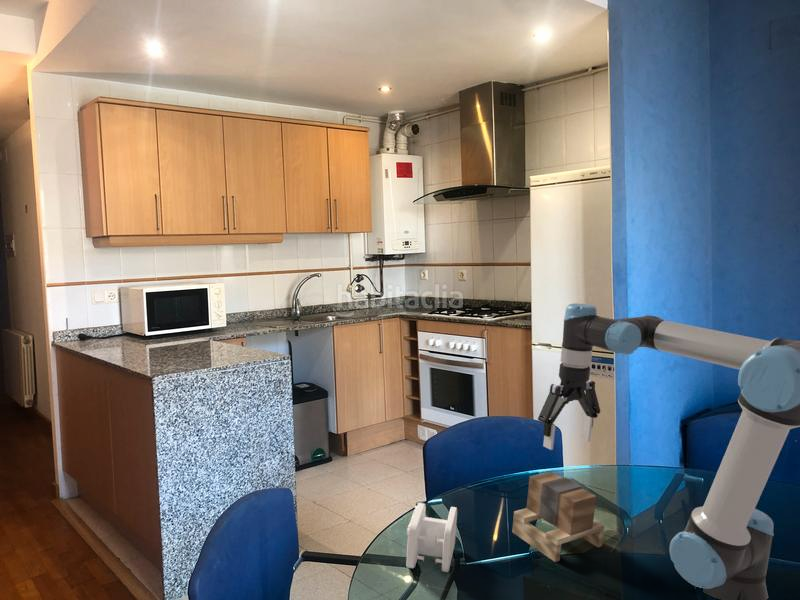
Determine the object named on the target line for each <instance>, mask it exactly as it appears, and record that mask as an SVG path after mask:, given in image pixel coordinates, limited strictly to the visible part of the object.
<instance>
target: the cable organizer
mask: <svg viewBox="0 0 800 600" xmlns="http://www.w3.org/2000/svg"><path fill="white" fill-rule="evenodd" d="M426 507H427V506H426V503H422V502H417V505H415V506H414V510H413V512H412V514H411V518H410V520H409V524H407V528H406V536H407V542H406V544H407V546H406V561H405V562H406V563H405V565H406V568H408V569H414V568H416V564H417V562H418V560H421V561H422V563H424V561H425V556H430V557H435V563H436V564H437V563H438V564H441V571H442V572H444V573H448V572H450V567H451V563H452V558H453V553H454V550H455V544H456V534H457V532H456V531H457V518H458V508H457V507H455V506H450V509H449V512H448V516H447V517H448V518H447V519H443V518H441V519H440V518H434V517H427V516H426V509H427V508H426ZM422 555H423V556H422ZM440 558H442V559H440Z"/></svg>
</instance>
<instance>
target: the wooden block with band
mask: <svg viewBox="0 0 800 600" xmlns="http://www.w3.org/2000/svg"><path fill="white" fill-rule="evenodd" d="M526 499H527V500H526V508H527V509H529V510H530V511H532V512H534V513H535V514H537V515H538V516H539V517H541V519H542V520H544V521H545V522H547V523H549V524H550V525H552V526H554V527H555V528H556V529H558V528H559V529H561V530H562V531H564V532H565V533H567V534H569V535H570V536H571V535H574V534H577V533H581V532H584V531H587V530H590V529H593V520H594V519H595V518H594V517H595V510H596V501H597V495H595V494H594V493H591V492H590V491H588V490H586V489H584V488H583V486H582V485H580V484H578V483H577V482H574V481H573V480H571V479H569V478H567V477H565V476H564V477H562V476H560V475H558V474H556V473H554V472H553V471H549V472H545V473H539V474H536V475H531V476H529V479H528V491H527V498H526Z"/></svg>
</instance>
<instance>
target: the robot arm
mask: <svg viewBox="0 0 800 600" xmlns="http://www.w3.org/2000/svg"><path fill="white" fill-rule="evenodd" d="M593 347H596V348H599V349H602V350H606V351H609V352H613V353H614V354H622V355H632V354H633V353H634V352H635V351H637V350H638V349H639V348H646V349H652V350H656V351H660V352H666V353H669V354H673V355H677V356H681V357H685V358H688V359H689V358H690V359H693V360H696V361H697V360H698V361H702V362H706V363H710V364H715V365H718V366H722V367H726V368H731V369H735V370H739V371H738V377H737V383H738V387H739V389H740V393H739V396H738V399H737V402H738V404H739V406H740V408H741V409H742V411H741V414H740V417H739V418H738V421H737V424H736V425H735V429H734V431H733V433H732V436H731V439H730V440H729V443H728V445H727V447H726V451H725V453H724V455H723V457H722V460H721V462H720V465H719V467H718V469H717V472H716V474H715V476H714V477H715V478H714V479H713V482H712V483H711V487H710V489H709V492H708V494H707V496H706V499H705V501H704V504H703V506H698V507H695V508H694V509H693V510H692V512H691V513H690V516H689V519H688V520H687V524H686V526H685V528H684V530H683V531H679V532H678V533H676V534H675V535H674V537H673V538H672V539H671V540H670V543H669V555H670V556H669V557H670V560H671V561H672V562H673V564H674V568H675V570H676V572H677V573H678V574H679V575H680V577H682V578H683V579H684V580H685V581H686V582H688V583H689V584H691V585H692V586H693V587H695V588H696V587H699V588H703V592H704V593H706V594H708V595H710V596H712V597H714V598H718V599H721V600H767V599H768V598H769V595H768V590H767V584H766V577H767V573H768V572H767V571H768V565H769V561H770V560H769V559H770V555H771V549H772V542H773V537H774V535H775V533H774V521H773V519H772V517H770V516H769V515H768V514H766V513H765V512H763V511H762V510H759V509H757V508H756V507H757V505H758V502H759V501H760V497H761V496H762V493H763V491H764V488H765V487H766V484H767V482H768V480H769V478H770V475H771V473H772V471H773V469H774V467H775V464H776V462H777V460H778V458H779V455H780V452H781V451H782V448H783V446H784V444H785V441H786V440H787V437H788V435H789V433H790V430H792V429H797V428H800V340H793V339H787V338H782V337H781V338H780V337H776V338H774V339H772V340H766V339H763V338H761V339H760V338H756V337H751V336H746V335H740V334H736V333H732V332H731V333H730V332H725V331H721V330H715V329H711V328H705V327H700V326H695V325H691V324H684V323H679V322H676V321H669V320H664V318H662V317H660V316H658V315H643V316H642V315H641V316H635V317H627V318H608V317H604V316H603V317H602V316H600V315H598V313H597V307H596V306H594V305H592V304H587V303H586V304H585V303H578V302H577V303H570V304H568V305H567V306H566V308H565V313H564V319H563V331H562V343H561V352H560V353H561V354H560V362H561V363H559V369H558V378H559V379H560V383H559V384H555V383H552V384H550V387H549V392H548V395H547V397H546V399H545V402H544V403H543V406H542V408H541V410H540V412H539V415H538V417H537V421H539V422H541V423H543V431H542V435H543V444H542V447H544V448H546V449H548V450H550V451H552V450H554V443H555V433H556V424H554V423H555V422H556V420H557V418H558V416H559V415H560V414H561V412H562V411H563V409H564V407H565V406H566V405H568V404H569V403H570V402H572V401H578V403H579V405H580V406H581V408H582V410H583V411H584V413H585V414H583V415H582V418H581V420H582V421H581V428H580V429H581V430H580V439H581V440H583V441H585V442H587V443H588V442H591V438H592V428H593V426H594V425H593V424H594V419H596V418H598V415H600V413H601V407H600V403H599V400H598V395H597V393H596V382H595V381H594V380H591V379H590V376H591V375H590V373H591V368H590V366H591V365H592V357H593Z"/></svg>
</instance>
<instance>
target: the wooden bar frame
mask: <svg viewBox="0 0 800 600" xmlns="http://www.w3.org/2000/svg"><path fill="white" fill-rule="evenodd" d="M540 519H542V518H541V517H539V516H538V515H537V514H535V513H534V512H532V511H530V510H529V509H527V507H525V508H522V509H517V510H515V511H513V520H512V530H511V531H512V533H513V534H514V535H515V536H517V537H519V539H521V540H522V541H524V542H526V543H527V544H529V545H530V546H531V547H533V548H534V549H536V550H537V551H539V552H540V553H541V554H543V555H544V556H546V557H547V558H548V559H550V560H551V561H553V562H554V563H557V562H560V560H561V550H562V545H563V544H566V543H569V542H571V541H574V540H578V539H581V538H582V539H583V540H585V541H586V542H588V543H590V544H592V545H593V546H595V547H596V548H600V547H603V539H604V532H605V524H603V523H602V522H601V521H598V520H597V519H595V518H594V520H593V529H590V530H587V531H584V532H581V533H577V534H574V535H571V536H570V535H569V534H567V533H565V532H564V531H562V530H561V529H559V528H556V529H552V530H549V531H546V532H544V531H542V530H540V529H539V528H537V526H534V525H533V524H531V523H530V522H534V521H537V520H540Z"/></svg>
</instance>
